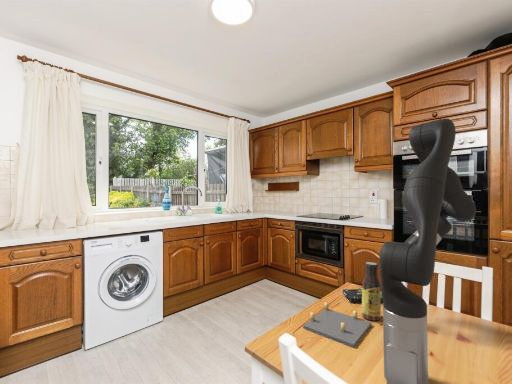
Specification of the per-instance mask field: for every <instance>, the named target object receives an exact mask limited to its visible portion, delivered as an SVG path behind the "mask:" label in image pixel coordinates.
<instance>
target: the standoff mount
mask: <svg viewBox="0 0 512 384" xmlns="http://www.w3.org/2000/svg"><path fill="white" fill-rule="evenodd" d="M352 311H353V313H352V314H353V315H349V314H346V313H343V312H339V311H336V310H333V309H329V302H328V301H325V302H324V309H322V310H321V311H320V312H319V313H317V314H315V312H313V311H311V312H310V319H309V320H308V321H307V322H306V323H304V324H303V325H302V328H303V329H304V330H306V331H309V332H311V333H314V334H317V335H320V336H322V337H323V338H328V339H330V340H332V341H334V342H337V343H340V344H343V345H345V346H348V347H350V348H353V349H355V347H356V345H358V343H359V342H360V341H361V340H362V338H363V337H364V336H365V334H366V333H367V331H368V330H369V329H370V328H371V327H372V325H373V323H372V321H370V320H367V319H366V320H365V319H361V318H359V316H358V311H357V310H352Z"/></svg>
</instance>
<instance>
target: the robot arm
mask: <svg viewBox="0 0 512 384" xmlns="http://www.w3.org/2000/svg"><path fill="white" fill-rule="evenodd" d="M408 139H409V144H410V147H411V150H412V151H413V153H414V154H415V155H416V157H417V159H418V160H419V162H420V163H419V164H418V165H417V167H415V168H414V169H413V170H412V172H411V171H410V173H409V175H408V176H407V178H406V179H405V183H404V187H403V191H402V197H401V201H402V204H403V206H404V209H405V210H406V212H407V214H408V216H410V219H411V220H412V222H413V224H414V225H415V228H416V231H415V232H414V233H412V234H411V235H410V236H409V237H408V238H407V239H406V240H405V241H404V242H398V241H385V242H384V243H383V244H382V246H381V248H380V251H379V273H380V274H379V275H380V287H381V295H382V299H383V303H382V320H383V321H382V323H383V326H382V328H383V335H382V336H383V375H384V379H385V378H386V379H385V380H387V381H386V384H429V355H428V354H429V352H428V351H429V349H428V347H429V346H428V345H429V344H428V343H429V342H428V305H427V302H426V300H425V299H424V298H423V297H421V296H420V295H419V294H417V293H416V292H413V291H412V290H411V289H409V288H408V287H407V286H406V285H405V284H404V283H406V284H410V285H416V286H419V287H420V286H421V287H427V286H429V285H430V283H431V282H432V279H433V277H434V274H435V266H436V256H437V253H436V252H437V245H438V244H439V243H440V242H441V240H442V239H443V238H445V237H446V235H447V234H449V233H450V232H451V230H452V229H453V225H452V224H451V222H450V221H448V220H447V219H448V217H449V218H450V217H451V218H452V219H453V220H454V219H455V220H457V221H459V222H469V221H471V220H473V219H474V217H476V214H477V208H476V204H475V202H474V201H473V200H472V199H471V197H470V196H469V194H468V193H467V192H466V191H465V190H464V187H463V186H462V185H463V184H462V182H461V179H460V177H459V175H458V173H457V172H456V171H455V170H453V169H452V168H451V167H450V166H449V163H450V159H451V156H452V153H453V149H454V146H455V142H456V141H455V140H456V126H455V123H454V122H453V121H452V119H449V118H441V119H440V118H439V119H435V120H432V121H428V122H423V123H419V124H416V125H413V126H412V127H411V128H410V130H409V134H408Z"/></svg>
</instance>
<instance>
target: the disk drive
mask: <svg viewBox="0 0 512 384" xmlns="http://www.w3.org/2000/svg"><path fill="white" fill-rule="evenodd" d="M343 294H344V295H345V296H344V295H343ZM342 295H343V296H344V297H345V298H346V300H347V299H348V300H349V301H348V300H347V301H348V302H349V303H350V304H356V303H357V304H362V288H361V289H359V288H357V289H355V288H353V289H350V288H348V289H347V288H346V289H342ZM381 304H383V299H382V294H381Z"/></svg>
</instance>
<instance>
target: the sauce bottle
mask: <svg viewBox="0 0 512 384" xmlns="http://www.w3.org/2000/svg"><path fill="white" fill-rule="evenodd" d="M365 268H366V269H365V276H364V277H363V279H362V287H361V289H362V303H361V316H362V317H363V318H364V320H365V319H366V320H367V321H371V322H372V321H375V322H376V321H379V320H380V319H381V313H382V311H381V308H382V306H381V304H382V303H381V295H382V294H381V283H380V280H379V277H378V268H379V266H378V263H377V262H371V261H366V262H365Z"/></svg>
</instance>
